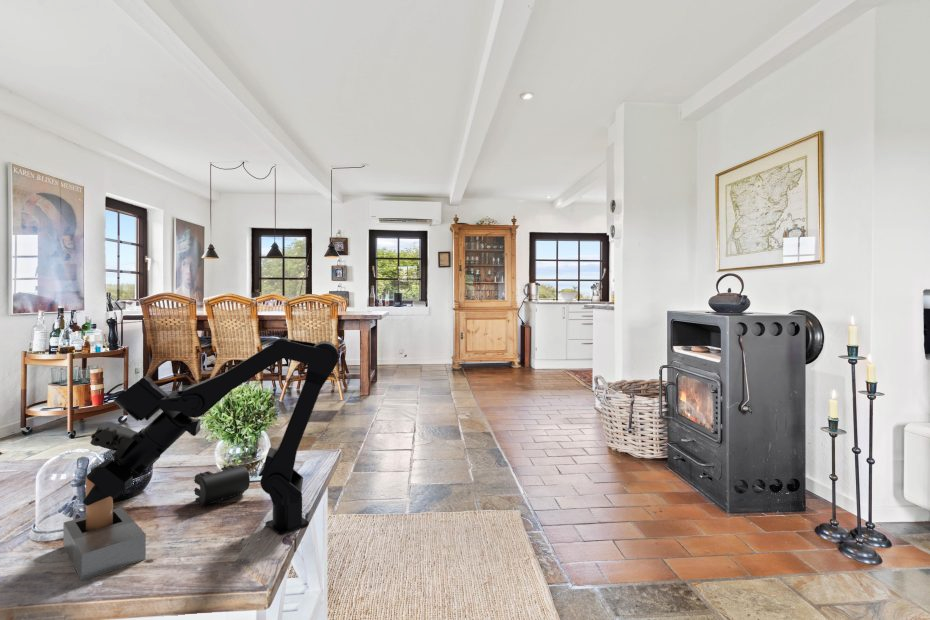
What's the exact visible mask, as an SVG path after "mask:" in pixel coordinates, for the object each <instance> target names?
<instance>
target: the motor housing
mask: <svg viewBox="0 0 930 620" xmlns="http://www.w3.org/2000/svg"><path fill="white" fill-rule="evenodd" d="M62 528H63V534H62V535H63V543H62V544H63V548H64V551H65V553H66V554H67V556H68V557H69V560H70V562H71V564H72V566H73V568H74V569H75V571H76V573H77V575H78V577H79V579H80V581H81V582H83V581H86V580H89V579H92V578H96V577H99V576H100V575H104V574H107V573H111V572H112V571H115V570H118V569H121V568H124V567H126V566H131V565H132V564H135V563H138V562H140V561H144V560H146V558H147V556H146V555H147V553H146V549H147V548H146V546H147V545H146V543H147V542H146V541H147V540H146V539H147V535H146V533H145V531H144V530H143V529H142V527H140V526H139V525H138V524H137V523H136V521H134V519H133V518H132V517H131V516H130V515H129V514H128V513H127V511H126V510H125V509H124V508H123V507H122V506H120V507H117V508H113V525H110V526H106V527H103V528H99V529H96V530H92V531H89V532H86V516H83V517H79V518H75V519H71V520H68V521H63V526H62Z"/></svg>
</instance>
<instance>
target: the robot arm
mask: <svg viewBox="0 0 930 620" xmlns="http://www.w3.org/2000/svg"><path fill="white" fill-rule="evenodd" d="M283 359H285V360H290V361H295V362H297V363H302V364H306V365H307V368H306V374H305V377H304V379H305V380H304V382H303V385H302V387H301V391H300V393H299V396H298V398H297V401H296V403H295V406H294V408H293V411H292V413H291V416H290V419H289V420H288V424H287V426H286V429H285V431H284V433H283V436H282V439H281V441H280V442H279V444H278V446H277V447H276V448H273V447H269V448H268V452H267V454H266V456H265V460H264V462H263V463H262V466H261V468H260V471H259V473H258V477H261V478H260V487H261V489H262V490H263V492H265V494H267V495H268V496H269V497H270V499H271V503H272V519H270V520H268V521H265V526H266V527H268V528H269V529H271V530H272V531H273V532H275V533H276V534H277V535H280V536H281V535H284V534H288V533H289V532H292V531H294V530H298V529H300V528H302V527H305V526H307V525H309V523H310V521H309V520H308V519H306V518H304V517H303V493H302V491H303V483H304V476H302V475H301V474H300V473H299V472H297V470H295V469H294V468H295V462H296V459H297V458H296V457H297V453H298V449H299V446H300V444H301V443H302V442H301V441H302V439H303V435H304V434H305V431H306V429H307V426H308V424H309V420H310V418H311V417H312V416H311V415H312V413H313V411H314V409H315V406H316V403H317V400H318V398H319V396H320V392H321V390H322V388H323V387H324V384H325V383H326V382H327V381H328V379H329V377H330V376H331V374H332V373H333V371H334V369H335V367H336V366H337V364H338V363H339V359H340V358H339V350H338V348H337V346H336V345H335V344H334V343H333V342H331V341H330V340H329V341H327V340H322V341H319V342H317V343H316V342H310V341H304V340H303V341H302V340H295V339H290V338H288V337H279V338H277V339H275V340H274V341H273V343H271V344H269V345H268V346H266V347H264V348H263V349H261V350H259V351H258V352H256V353H255V354H253V355H251V356H250V357H248V358H247V359H245V360H243V361H242V362H240V363H239V364H236V365H235V366H233V367H231V368H230V369H228V370H227V371H225V372H223V373H221V374H218V375H215V376H212V377H210V378H207V379H205V380H203V381H200V382H198V383H195V384H192V386H190V387H188V388H187V389H184V390H179V391H178V390H177V391H176V390H175V391H172V392H171V393H170V392H169V394H168V393H167V392H165V391H164V390H163V389H162V388H161V387H159V386H158V385H157V383H155V381H154V380H153V379H152V378H151V377H150V376H148V375H145V376H142V377H141V378H140V379H139V380H138V381H137V382H135V383H133V384H132V385H130V387H128V388H126V389H124V390H123V391H122V392H121V393H120V394H118V395H117V396H116V397H115V398H114V400H113V403H114V404H116V405H117V406H118V407H119V408H120V409H122V410H123V412H126V413H127V414H128V415H130V417H132V418H133V419H134V420H136V422H138V421H140V422H141V421H143V420H145V421H149V420H151V418H152V417H154V416H155V415H156V414H158V413H159V412H160V410H161V413H159V414H158V415H157V416H156V418H154V419H153V420H152V421H151V422H150V423H149V424H148V425H147V426H146V427H144V428H142V429H140V430H139V431H135V430H133V429H131V428H130V427H129V428H128V427H126V426H123V425H120V424H118V423H115V422H112V421H111V422H109V421H106V422H105V423H103V424H102V425H100V426H98V427H97V429H96V431H95V432H94V433H92V434H91V436H90V438H91V440H90V442H89V443H90V444H91V445H92V446H93V447H101V448H103V449H107V450H109V451H114V452H113V453H112V454H111V455H112V456H113V457H114V458H113V459H112V460H104V461H102V462H101V463H100V464H98V466H97V465H96V466H97V467H95V468H94V469H93V470H92V471H91V470H90V472H88V474H86V476H87V479H88V480H89V481H91V482H92V483H93V484H95V485H94V486H93V488H92V489H91V491H90V492H89V494H88V495H87V496H86V495H85V498H84V500H83V501H82V503H83V505H85V506H86V505H87V506H88V505H91V504H93V503H95V502H98V501H100V500H102V499H105V498H107V497H110V496H111V497H112V498H113V499H117V498H119V496H121V494H123V493H124V492H125V491H126V490H127V489H128V488H129V487H130V486H131V485H132V484H133V482H134V481H133V480H134V479H137V478H138V477H140V476H141V475H142V474H143V473H144V472H145V471H146V469H147V468H148V469H149V468H150V467H151V466H153V465H154V464H155V463H156V461H158V460H159V459H160V458H161V456H162V454H163V453H164V452H166V451H167V450H168V449H169V448H170V447H171V446H172V445H173V444H174V443H176V441H177V440H179V438H181V436H183V434H185V433H186V432H187V433H188V434H190V435H191V436H192V437H195V436H196V435H198V433H200V431H201V429H202V428H201V421H202V420H201V419H200V418H199V417H201V416H204V415H205V414H206V413H207V412H208V411H210V410H211V409H212V408H213V407H214V406H215V405H216V404H218V403H219V402H221V400H222V399H224V397H225V396H227V395H228V394H229V393H230V392H231V391H232V390H234V389H235V388H237V387H239V386H240V385H242V384H243V383H246V382H247V381H249V380H250V379H252V378H254V377H255V376H256V375H258V374H260V373H261V372H263V371H264V370H266V369H268V368H270V367H271V366H273V365H274V364H276V363H278V362H279V361H281V360H283ZM196 418H197V419H196Z"/></svg>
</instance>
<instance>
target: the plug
mask: <svg viewBox="0 0 930 620" xmlns="http://www.w3.org/2000/svg"><path fill="white" fill-rule="evenodd" d="M98 465H99V464H98ZM98 465H95V466H94V465H93V466H92V467H90V472H91V471H92V470H93V469H94V468H95V467H97V466H98ZM94 485H95V484H93V483H92V482H91V481H89V480H88V479H87V475H86V476H85V497H86V496H87V495H88V494H89V492H90V491H91V489H92V488H93V486H94ZM113 509H114V498H112V497H111V496H110V497H107V498H105V499H102V500H100V501H98V502H95V503H93V504H91V505H88V506H87V505H85V517H86V532H89V531H92V530H96V529H99V528H103V527H106V526H110V525H113Z"/></svg>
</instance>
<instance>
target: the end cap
mask: <svg viewBox="0 0 930 620" xmlns="http://www.w3.org/2000/svg"><path fill="white" fill-rule="evenodd" d="M220 470H221V471H217V472H214V473H213V472H211V471H205V472H200V473H196V474H195V476H194V481H193V482H194V483H195V484H196V485H198V486H199V488H198V487H194V490H193V492H194V494H195V496H197V497H195V502H196V503H198V505H200V506H203V507H204V506H207V505H212V504H214V503H217V502H220V501H224V500H227V499H230V498H233V497H236V496H239V495H242V494H244V493H245V492H246V491H248V489H249V487H250V485H251V484H250V483H251V479H250V473H249V470H248V468H247V467H246V466H245V465H240V466H235V465H233V464H229V465H227V466H222V467H221V469H220Z"/></svg>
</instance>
